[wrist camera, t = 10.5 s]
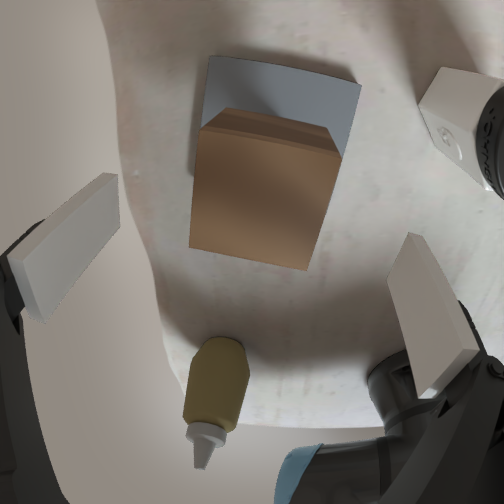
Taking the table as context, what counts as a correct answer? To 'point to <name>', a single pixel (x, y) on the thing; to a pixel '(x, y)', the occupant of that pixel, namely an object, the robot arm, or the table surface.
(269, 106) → the base plate
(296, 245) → the brown wooden cube
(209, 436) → the squeeze bottle
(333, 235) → the table surface
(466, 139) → the jar
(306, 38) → the table surface
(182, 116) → the table surface
